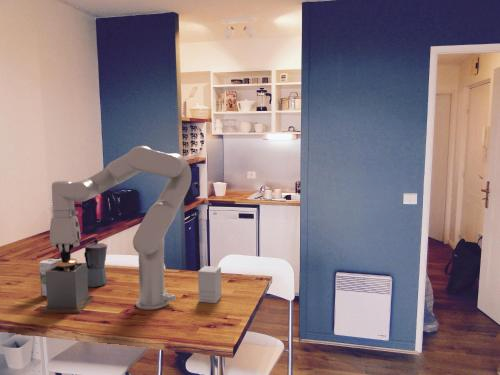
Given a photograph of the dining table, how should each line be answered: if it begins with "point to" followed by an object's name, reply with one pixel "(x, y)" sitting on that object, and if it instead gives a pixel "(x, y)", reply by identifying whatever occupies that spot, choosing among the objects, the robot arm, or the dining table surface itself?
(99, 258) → the moka pot
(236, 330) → the dining table surface
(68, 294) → the grey square canister
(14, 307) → the dining table surface
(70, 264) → the plunger
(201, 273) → the supplement box
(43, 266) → the syrup box
